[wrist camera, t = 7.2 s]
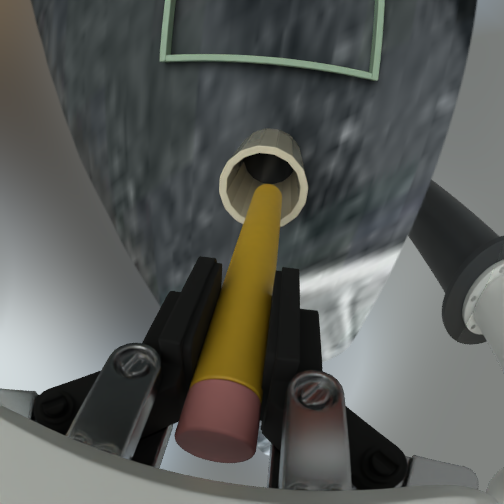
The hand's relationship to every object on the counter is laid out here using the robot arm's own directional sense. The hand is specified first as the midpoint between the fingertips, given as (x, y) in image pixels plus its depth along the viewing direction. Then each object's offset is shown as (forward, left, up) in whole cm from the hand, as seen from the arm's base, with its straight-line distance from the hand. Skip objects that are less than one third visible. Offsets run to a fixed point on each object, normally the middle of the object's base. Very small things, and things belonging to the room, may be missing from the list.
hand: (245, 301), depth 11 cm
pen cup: (0, 0, -22) cm, 22 cm away
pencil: (0, 0, -11) cm, 11 cm away
